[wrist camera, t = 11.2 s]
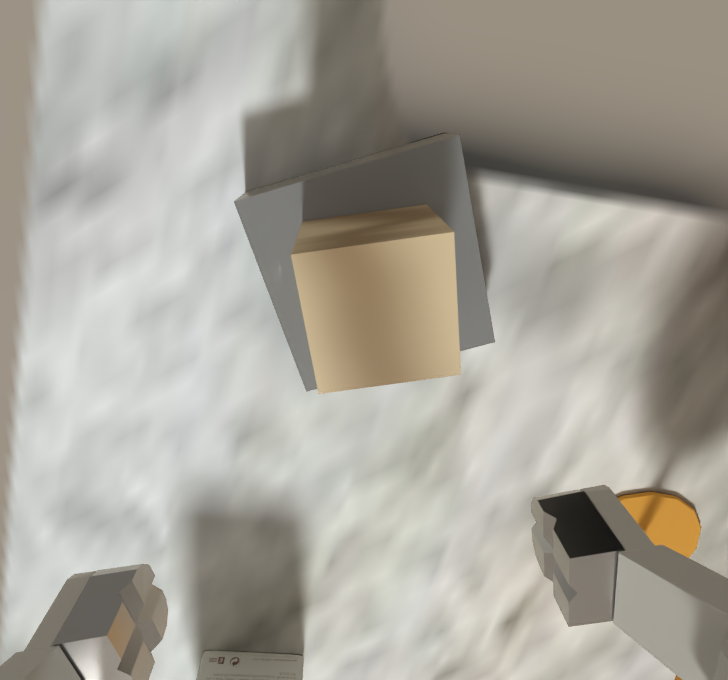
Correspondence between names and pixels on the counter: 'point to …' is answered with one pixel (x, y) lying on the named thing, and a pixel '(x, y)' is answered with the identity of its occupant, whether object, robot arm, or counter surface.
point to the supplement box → (249, 666)
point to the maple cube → (378, 297)
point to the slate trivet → (361, 195)
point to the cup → (665, 521)
